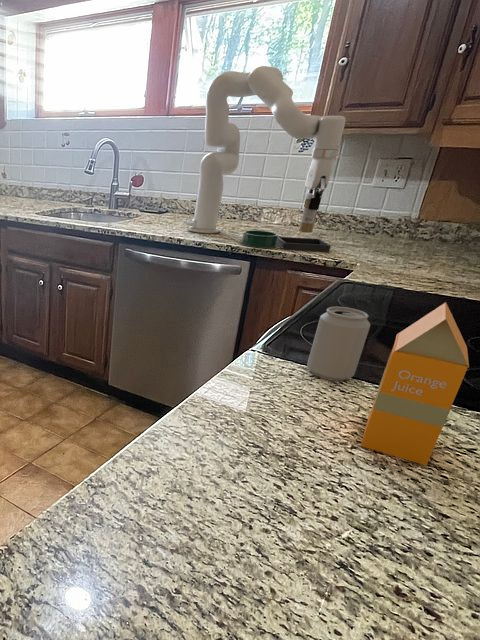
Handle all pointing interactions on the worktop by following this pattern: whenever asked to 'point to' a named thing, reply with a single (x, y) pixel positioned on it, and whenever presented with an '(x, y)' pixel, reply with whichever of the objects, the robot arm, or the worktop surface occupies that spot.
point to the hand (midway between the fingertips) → (311, 208)
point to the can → (338, 343)
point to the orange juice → (418, 388)
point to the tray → (303, 244)
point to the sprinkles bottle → (308, 216)
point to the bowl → (259, 239)
